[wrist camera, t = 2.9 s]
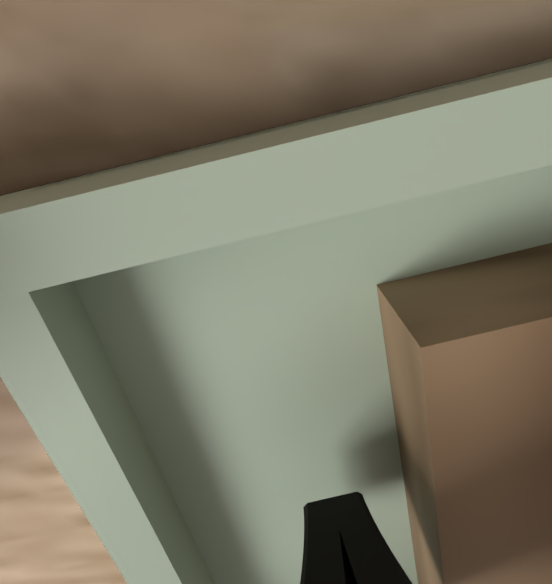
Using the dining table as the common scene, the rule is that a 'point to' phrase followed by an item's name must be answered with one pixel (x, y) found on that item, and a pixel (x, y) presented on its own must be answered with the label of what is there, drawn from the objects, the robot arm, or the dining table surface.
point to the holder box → (254, 317)
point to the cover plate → (475, 416)
